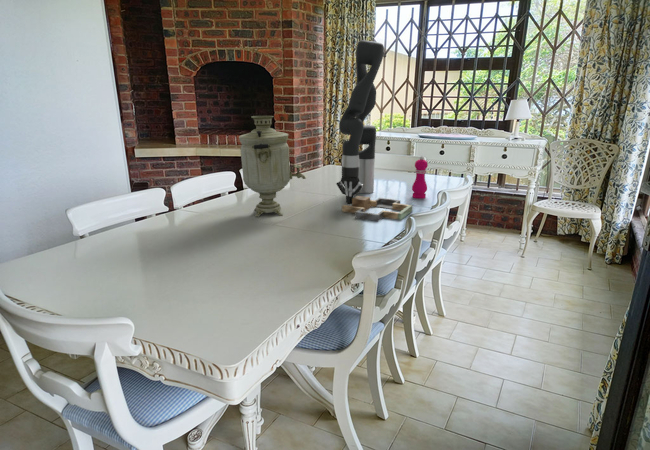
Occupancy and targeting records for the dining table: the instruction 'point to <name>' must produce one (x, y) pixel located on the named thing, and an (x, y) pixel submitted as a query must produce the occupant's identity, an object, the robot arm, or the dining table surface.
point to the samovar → (266, 163)
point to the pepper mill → (420, 179)
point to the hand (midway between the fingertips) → (349, 204)
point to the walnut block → (361, 202)
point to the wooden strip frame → (386, 214)
